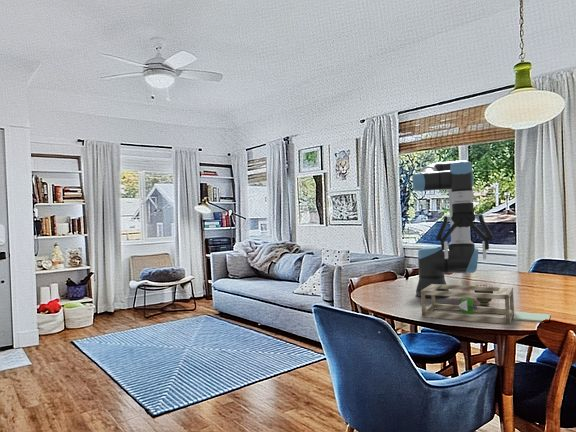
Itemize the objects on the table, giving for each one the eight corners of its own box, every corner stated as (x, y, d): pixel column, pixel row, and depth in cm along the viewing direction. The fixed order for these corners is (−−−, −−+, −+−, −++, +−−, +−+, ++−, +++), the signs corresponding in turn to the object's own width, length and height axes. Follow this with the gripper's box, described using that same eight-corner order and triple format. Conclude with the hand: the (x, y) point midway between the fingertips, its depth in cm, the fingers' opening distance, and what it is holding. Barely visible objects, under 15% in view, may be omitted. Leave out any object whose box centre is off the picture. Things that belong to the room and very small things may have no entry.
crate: (422, 316, 165) (420, 290, 165) (432, 308, 179) (431, 284, 179) (509, 324, 149) (508, 295, 149) (514, 314, 163) (512, 287, 163)
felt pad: (513, 319, 154) (513, 318, 154) (516, 313, 164) (516, 311, 164) (549, 322, 149) (549, 321, 149) (550, 315, 158) (549, 314, 158)
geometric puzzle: (457, 306, 170) (456, 292, 166) (476, 307, 168) (476, 293, 163) (458, 321, 165) (457, 307, 160) (478, 321, 162) (477, 307, 158)
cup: (493, 308, 174) (492, 288, 174) (473, 306, 178) (472, 287, 178) (495, 304, 181) (494, 285, 181) (476, 303, 184) (475, 284, 184)
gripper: (426, 204, 168) (429, 259, 167) (497, 200, 154) (500, 260, 154) (431, 204, 174) (433, 257, 174) (500, 200, 161) (502, 258, 160)
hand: (465, 258), depth 164 cm, fingers open, 13 cm apart
